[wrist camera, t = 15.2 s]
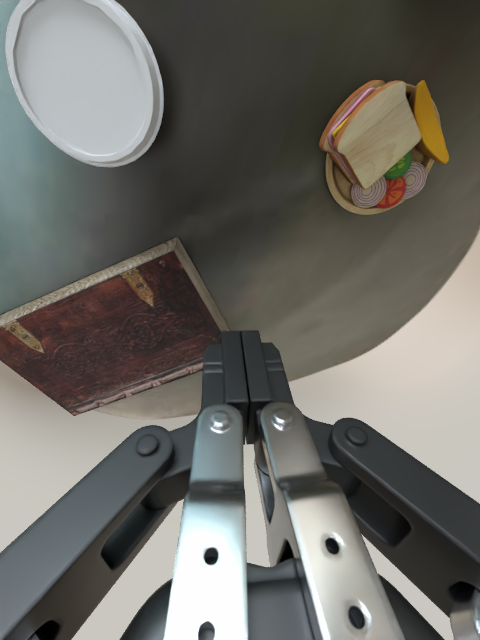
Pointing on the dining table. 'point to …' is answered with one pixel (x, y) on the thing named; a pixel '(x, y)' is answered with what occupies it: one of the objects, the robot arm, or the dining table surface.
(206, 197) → the dining table surface
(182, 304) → the hardback book
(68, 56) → the disposable coffee cup
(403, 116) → the toy sandwich meal
